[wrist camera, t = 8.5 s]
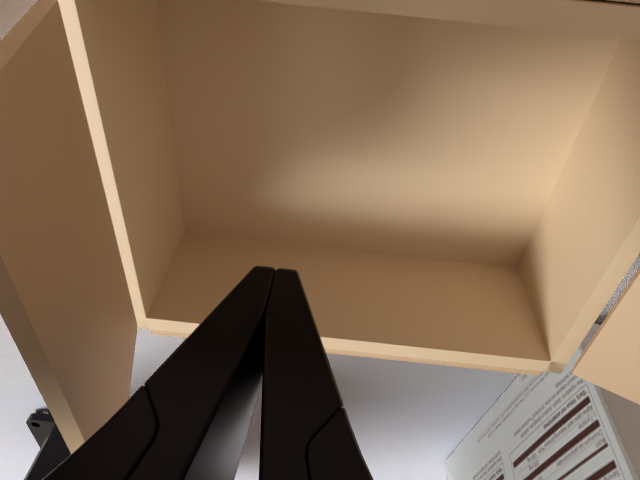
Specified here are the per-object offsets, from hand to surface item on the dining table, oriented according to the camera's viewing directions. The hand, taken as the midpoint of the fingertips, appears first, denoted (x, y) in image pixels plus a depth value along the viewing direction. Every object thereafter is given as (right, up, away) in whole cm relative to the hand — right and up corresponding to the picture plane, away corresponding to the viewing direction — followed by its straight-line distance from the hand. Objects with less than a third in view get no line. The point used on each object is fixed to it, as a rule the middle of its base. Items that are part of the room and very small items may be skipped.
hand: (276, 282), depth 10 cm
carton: (+2, +4, +5) cm, 7 cm away
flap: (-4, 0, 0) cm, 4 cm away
